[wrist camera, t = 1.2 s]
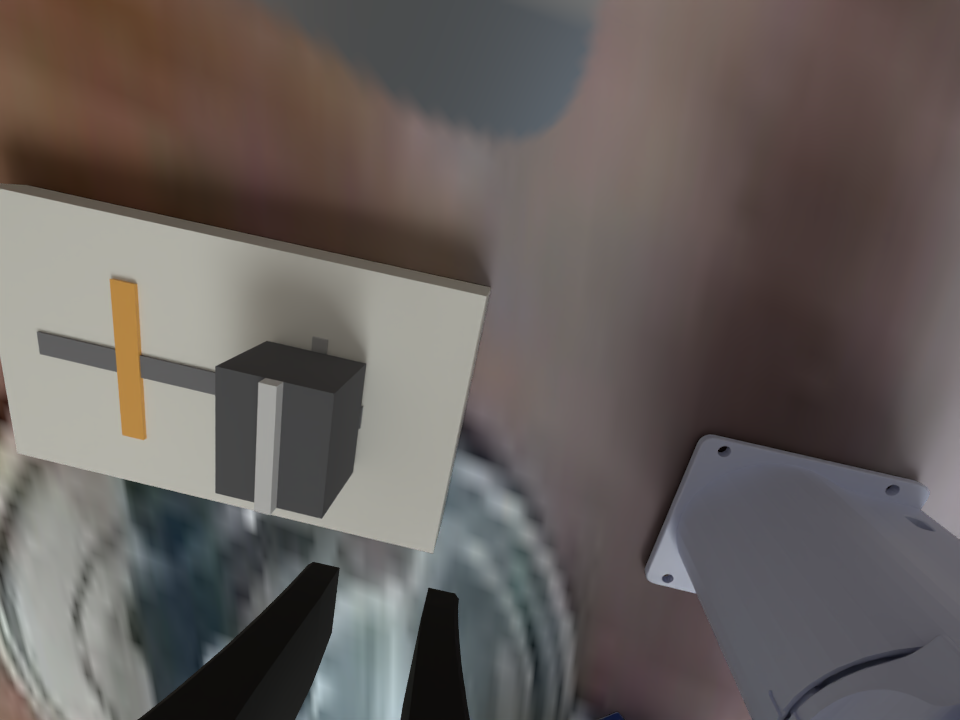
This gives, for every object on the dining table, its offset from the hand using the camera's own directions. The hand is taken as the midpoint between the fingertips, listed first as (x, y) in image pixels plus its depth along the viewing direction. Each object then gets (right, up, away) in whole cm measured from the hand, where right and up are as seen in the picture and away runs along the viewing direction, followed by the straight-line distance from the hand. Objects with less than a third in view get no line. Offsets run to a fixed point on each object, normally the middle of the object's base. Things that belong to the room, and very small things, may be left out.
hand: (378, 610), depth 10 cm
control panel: (-8, +5, +10) cm, 14 cm away
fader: (-4, +4, +8) cm, 10 cm away
